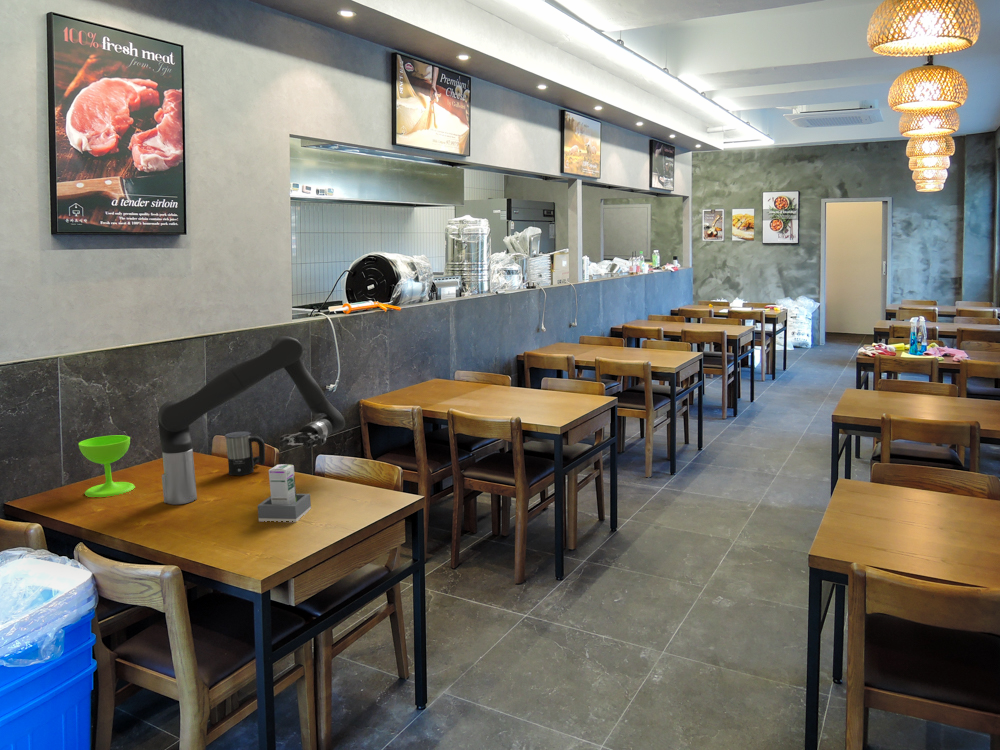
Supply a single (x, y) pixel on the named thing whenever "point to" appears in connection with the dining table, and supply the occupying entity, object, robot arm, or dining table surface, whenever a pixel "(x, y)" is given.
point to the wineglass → (106, 462)
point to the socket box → (284, 510)
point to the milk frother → (243, 452)
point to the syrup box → (282, 485)
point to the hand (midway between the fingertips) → (294, 444)
